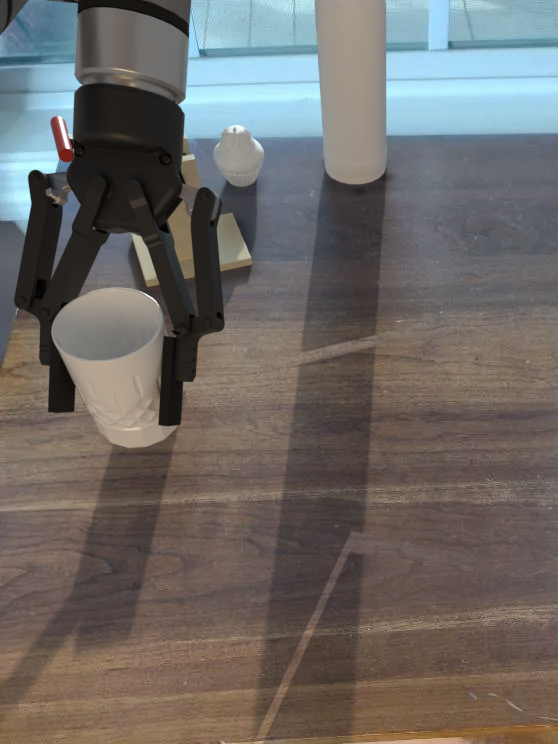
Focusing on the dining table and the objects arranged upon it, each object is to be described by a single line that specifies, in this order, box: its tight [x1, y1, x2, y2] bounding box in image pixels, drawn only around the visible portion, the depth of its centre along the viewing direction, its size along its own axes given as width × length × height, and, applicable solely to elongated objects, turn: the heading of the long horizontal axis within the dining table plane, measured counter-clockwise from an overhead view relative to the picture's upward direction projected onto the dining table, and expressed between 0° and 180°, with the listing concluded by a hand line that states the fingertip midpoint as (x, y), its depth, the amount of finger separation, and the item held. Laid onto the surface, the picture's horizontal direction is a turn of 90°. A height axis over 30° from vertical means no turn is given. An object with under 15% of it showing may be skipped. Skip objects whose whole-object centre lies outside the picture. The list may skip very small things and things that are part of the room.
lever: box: [49, 115, 187, 163], centre depth 88 cm, size 13×6×2 cm, turn 110°
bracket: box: [130, 133, 253, 288], centre depth 94 cm, size 12×9×13 cm
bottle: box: [313, 0, 388, 185], centre depth 97 cm, size 8×8×30 cm
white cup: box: [51, 287, 183, 449], centre depth 66 cm, size 8×8×10 cm
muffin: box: [212, 124, 265, 188], centre depth 105 cm, size 6×6×7 cm
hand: (115, 418), depth 65 cm, fingers closed on white cup, 8 cm apart
